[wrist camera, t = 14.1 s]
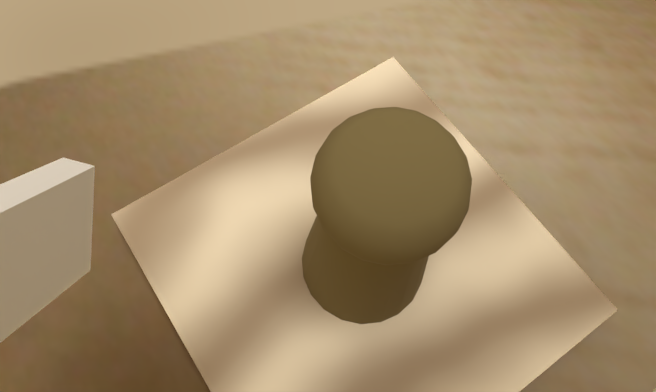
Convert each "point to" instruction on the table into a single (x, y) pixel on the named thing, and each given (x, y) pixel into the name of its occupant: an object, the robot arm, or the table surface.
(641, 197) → the table surface
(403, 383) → the birch board
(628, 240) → the table surface
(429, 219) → the olive pawn
